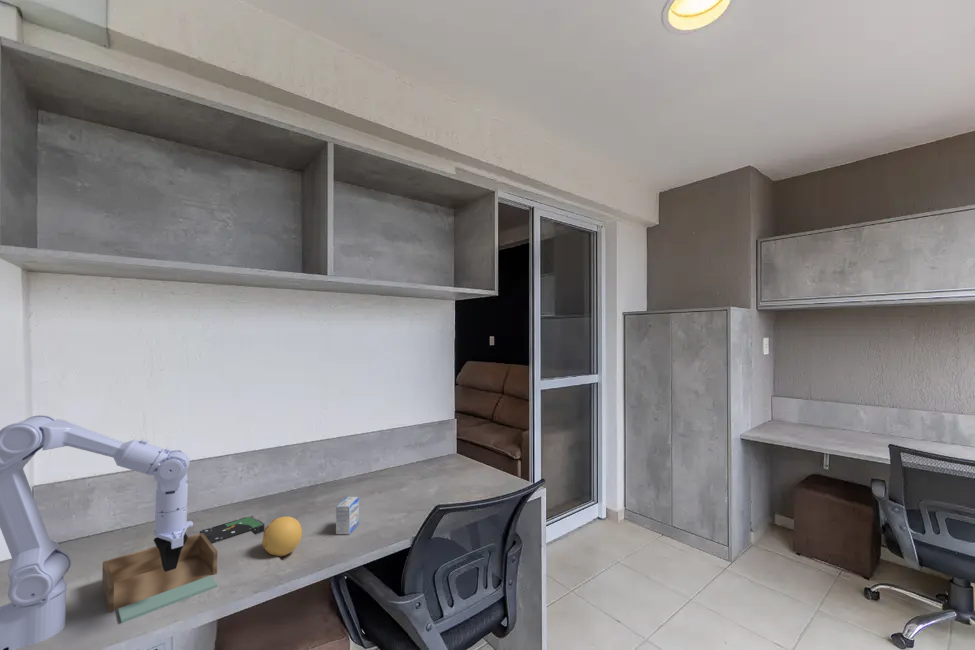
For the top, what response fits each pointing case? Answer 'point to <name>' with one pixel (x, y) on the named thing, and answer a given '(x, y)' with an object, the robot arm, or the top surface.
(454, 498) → the top surface
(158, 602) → the green flat rectangular panel
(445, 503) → the top surface
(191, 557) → the wooden drawer
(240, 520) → the disk drive
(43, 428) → the robot arm
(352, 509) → the medicine box
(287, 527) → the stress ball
